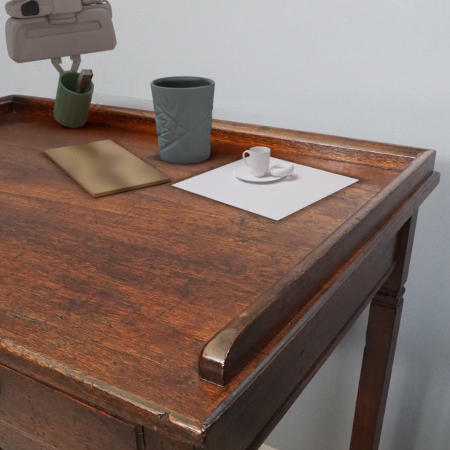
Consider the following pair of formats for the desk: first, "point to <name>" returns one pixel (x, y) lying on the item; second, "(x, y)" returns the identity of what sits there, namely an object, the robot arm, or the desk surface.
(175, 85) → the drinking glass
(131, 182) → the cork mat
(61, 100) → the green cup
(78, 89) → the tongs
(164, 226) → the desk surface
